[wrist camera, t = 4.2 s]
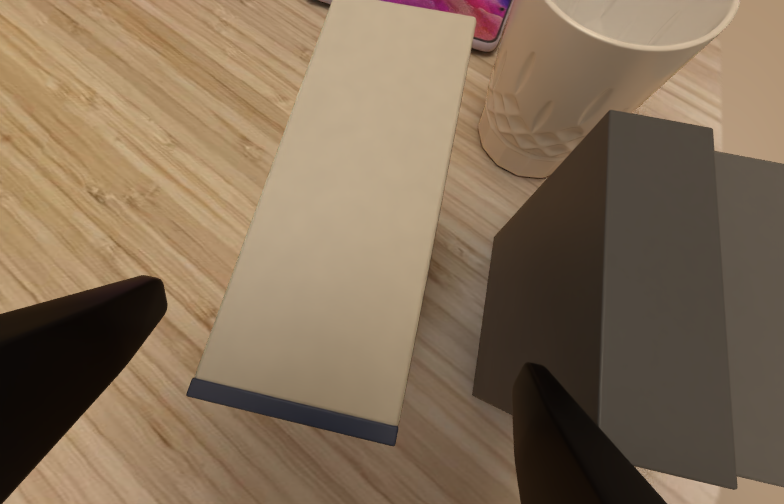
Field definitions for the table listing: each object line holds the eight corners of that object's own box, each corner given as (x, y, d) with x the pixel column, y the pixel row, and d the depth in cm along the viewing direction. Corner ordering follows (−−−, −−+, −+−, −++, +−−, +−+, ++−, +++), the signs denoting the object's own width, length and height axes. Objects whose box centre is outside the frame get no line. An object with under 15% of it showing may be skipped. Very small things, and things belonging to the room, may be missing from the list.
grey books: (585, 422, 17) (893, 527, 7) (472, 395, 18) (596, 457, 7) (593, 257, 20) (825, 148, 9) (494, 236, 20) (609, 108, 10)
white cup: (466, 181, 21) (530, 38, 12) (471, 80, 23) (528, -109, 14) (592, 193, 21) (762, 59, 11) (584, 90, 23) (722, -93, 14)
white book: (390, 381, 18) (395, 447, 5) (325, 366, 18) (184, 396, 5) (423, 222, 20) (477, 15, 8) (366, 210, 21) (333, -10, 8)
